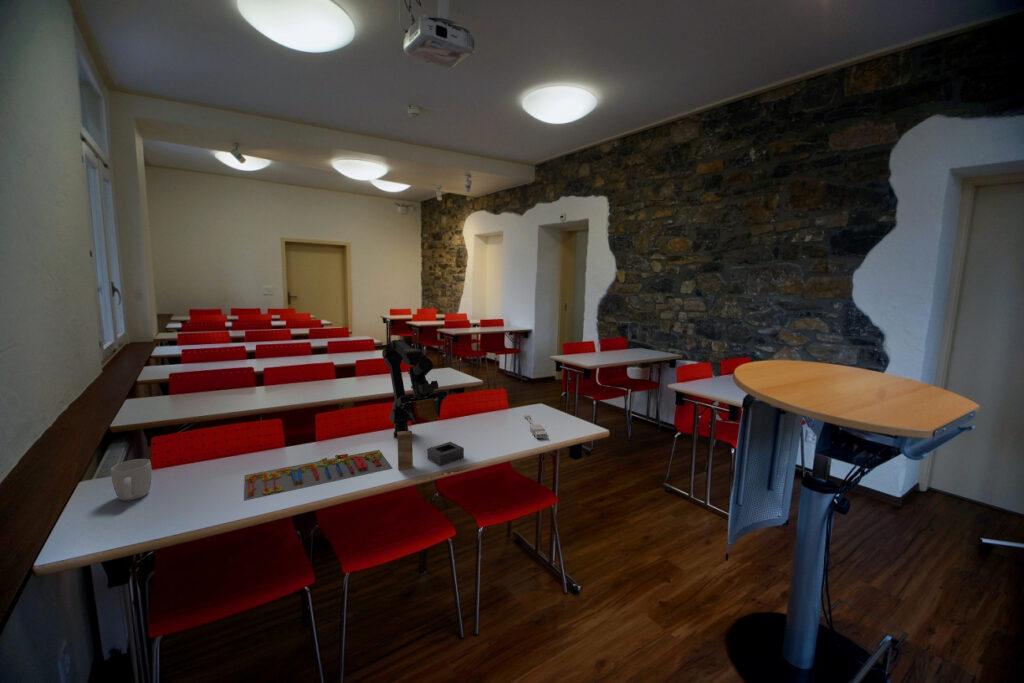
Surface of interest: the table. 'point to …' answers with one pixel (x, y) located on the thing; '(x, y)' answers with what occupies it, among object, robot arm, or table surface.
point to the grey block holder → (445, 453)
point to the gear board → (313, 473)
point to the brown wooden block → (405, 450)
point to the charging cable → (536, 429)
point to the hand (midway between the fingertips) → (427, 420)
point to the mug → (132, 479)
